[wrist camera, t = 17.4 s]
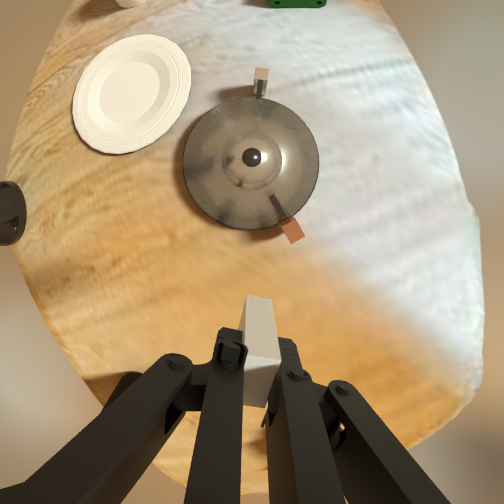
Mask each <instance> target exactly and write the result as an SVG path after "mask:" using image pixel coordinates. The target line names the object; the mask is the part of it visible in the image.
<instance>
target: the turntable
mask: <svg viewBox="0 0 504 504" xmlns="http://www.w3.org/2000/svg"><path fill="white" fill-rule="evenodd" d="M246 131H257V132H261V133H264V134H266V135H268V136H270V137H271V138H272V139H273V140H274V141H275V142H276V143H277V145H278V146H279V148H280V150H281V154H282V168H281V171H280V173H279V175H278V177H277V178H276V179H275V181H274V182H273V183H271V184H270V185H269V186H267V187H265V188H262V189H259V190H245V189H241V188H239V187H237V186H235V185H234V184H232V183H231V182H230V181H229V180H228V178H227V177H226V175H225V174H224V171H223V168H222V163H221V158H222V153H223V150H224V148H225V146H226V144H227V143H228V142H229V141H230V140H231V139H232V138H233V137H234V136H236V135H238V134H240V133H242V132H246ZM183 165H184V174H185V179H186V182H187V185H188V188H189V190H190V192H191V194H192V196H193V197H194V199H195V200H196V202H197V203H198V204H199V205H200V207H201V208H202V209H203V210H204V211H205V212H207V213H208V214H209V215H210V216H212V217H213V218H215V219H217V220H218V221H220V222H223V223H225V224H227V225H230V226H234V227H239V228H248V229H254V228H263V227H268V226H271V225H274V224H277V223H279V225H280V226H281V228H282V230H283V231H284V233H285V235H286V237H287V238H288V240H289V241H290V243H291V244H292V243H294V242H296V241H297V240H299V239H301V238H303V237H304V236H305V235H304V233H303V231H302V230H301V228H300V226H299V224H298V222H297V221H296V219H295V218H294V217H292V216H291V215H293V214H294V213H295V212H296V211H297V210H298V209H299V208H300V207H301V206H302V205H303V204H304V203H305V201H306V200H307V198H308V197H309V195H310V194H311V192H312V189H313V187H314V184H315V182H316V178H317V173H318V153H317V148H316V144H315V142H314V139H313V136H312V134H311V133H310V131H309V129H308V128H307V126H306V125H305V123H304V122H303V121H302V120H301V119H300V118H299V117H298V116H297V115H296V114H295V113H294V112H293V111H291V110H290V109H288V108H287V107H285V106H283V105H281V104H279V103H277V102H274V101H271V100H268V99H263V98H261V99H256V98H253V97H248V98H239V99H234V100H231V101H228V102H225V103H223V104H221V105H219V106H217V107H215V108H214V109H212V110H211V111H209V112H208V113H207V114H206V115H205V116H203V117H202V118H201V120H200V121H199V122H198V123H197V124H196V126H195V127H194V129H193V130H192V132H191V134H190V136H189V138H188V141H187V144H186V147H185V152H184V162H183Z"/></svg>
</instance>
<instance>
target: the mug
mask: <svg viewBox="0 0 504 504" xmlns="http://www.w3.org/2000/svg"><path fill="white" fill-rule="evenodd" d="M115 1H116V2H117V3H118V4H119V6H121V7H124V8H131V7H134V6H137V5H139V4H141V3H143V2H144V1H145V0H115Z"/></svg>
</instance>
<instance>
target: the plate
mask: <svg viewBox="0 0 504 504" xmlns="http://www.w3.org/2000/svg"><path fill="white" fill-rule="evenodd" d="M190 88H191V69H190V66H189V63H188V61H187V58H186V55H185V54H184V53H183V52H182V50H181V49H180V48H179V47H178V46H177V45H176V44H175V43H173V42H171V41H170V40H168V39H166V38H164V37H160V36H155V35H135V36H132V37H128V38H125V39H121V40H119V41H118V42H116V43H114V44H112V45H110V46H108V47H107V48H105V49H104V50H103V51H102V52H101V53H99V54H98V55H97V56H96V57H95V58H94V59H93V60H92V61H91V63H90V64H89V65H88V66H87V68H86V69H85V70H84V72H83V74H82V76H81V78H80V79H79V81H78V83H77V86H76V90H75V93H74V97H73V109H72V114H73V119H74V123H75V127H76V129H77V131H78V133H79V134H80V136H81V138H82V139H83V140H84V141H85V142H86V143H87V144H88V145H90V146H91V147H92V148H94V149H97V150H99V151H101V152H104V153H113V154H123V153H128V152H133V151H137V150H139V149H141V148H143V147H145V146H147V145H149V144H151V143H153V142H154V141H155V140H157V139H158V138H159V137H161V136H162V135H163V134H164V133H166V132H167V131H168V130H169V128H170V127H171V126H172V125H173V124H174V122H175V121H176V120H177V119H178V118H179V116H180V114H181V112H182V110H183V108H184V106H185V104H186V102H187V100H188V96H189V91H190Z"/></svg>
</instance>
